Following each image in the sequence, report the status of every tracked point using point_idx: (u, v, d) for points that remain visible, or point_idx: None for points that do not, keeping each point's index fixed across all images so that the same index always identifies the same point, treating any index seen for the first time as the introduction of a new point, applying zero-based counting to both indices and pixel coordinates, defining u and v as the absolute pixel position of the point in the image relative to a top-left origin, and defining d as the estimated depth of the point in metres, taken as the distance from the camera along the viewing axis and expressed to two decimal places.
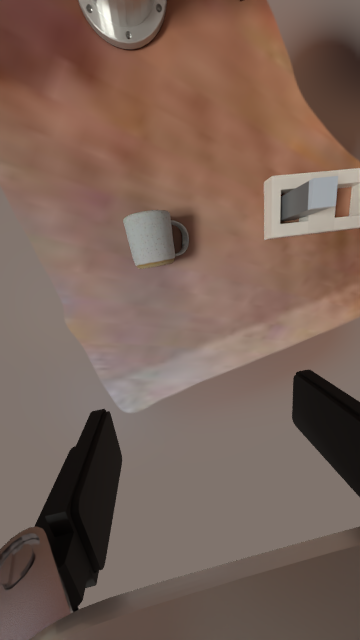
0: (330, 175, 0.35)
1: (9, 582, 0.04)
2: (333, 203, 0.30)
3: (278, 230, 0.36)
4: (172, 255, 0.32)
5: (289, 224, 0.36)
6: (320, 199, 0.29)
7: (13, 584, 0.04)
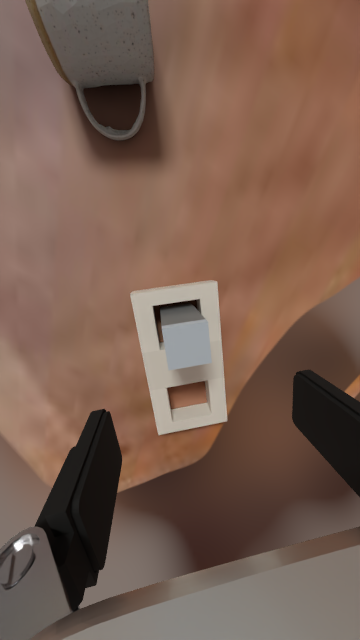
0: (218, 368, 0.25)
1: (9, 582, 0.04)
2: (172, 364, 0.17)
3: (142, 304, 0.22)
4: (56, 37, 0.14)
5: (152, 321, 0.23)
6: (176, 341, 0.17)
7: (13, 584, 0.04)
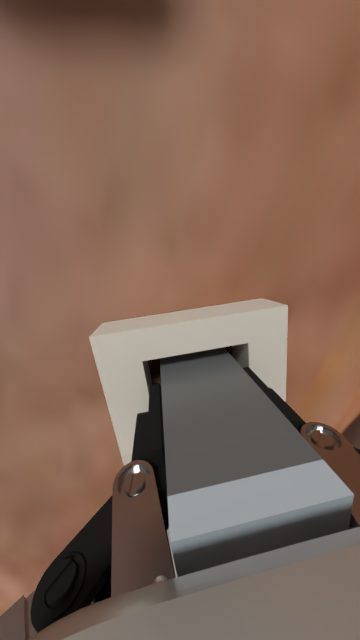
0: None
1: (129, 492, 0.05)
2: None
3: (119, 359, 0.10)
4: None
5: (144, 393, 0.10)
6: None
7: (131, 494, 0.06)
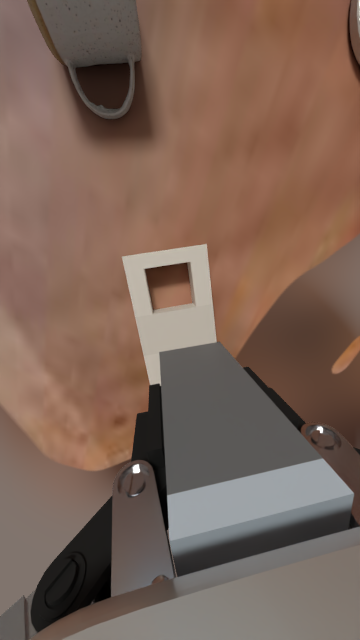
0: (210, 332, 0.26)
1: (129, 492, 0.05)
2: None
3: (134, 267, 0.23)
4: (48, 15, 0.15)
5: (145, 284, 0.23)
6: None
7: (131, 494, 0.06)
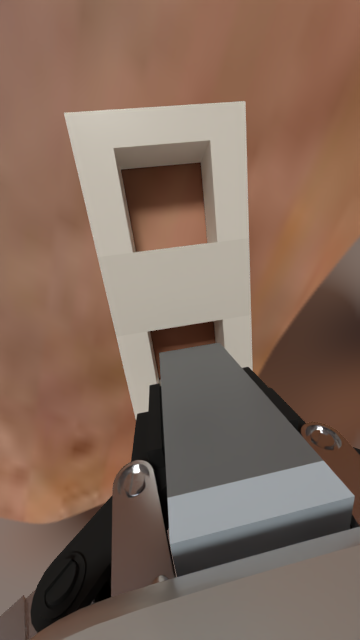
0: (240, 296, 0.14)
1: (129, 492, 0.05)
2: None
3: (92, 142, 0.11)
4: None
5: (116, 186, 0.11)
6: None
7: (131, 494, 0.06)
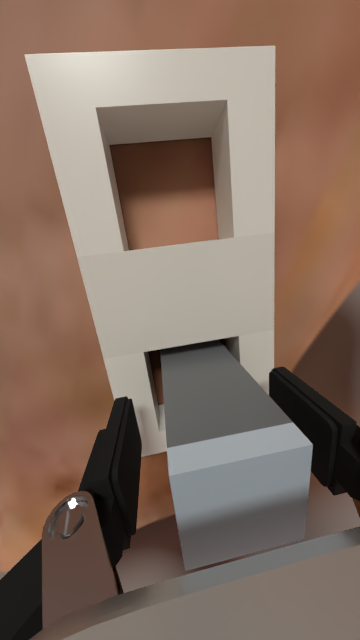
0: (262, 306, 0.11)
1: (64, 533, 0.05)
2: (196, 557, 0.06)
3: (66, 98, 0.08)
4: None
5: (100, 160, 0.08)
6: (214, 503, 0.05)
7: (67, 535, 0.05)
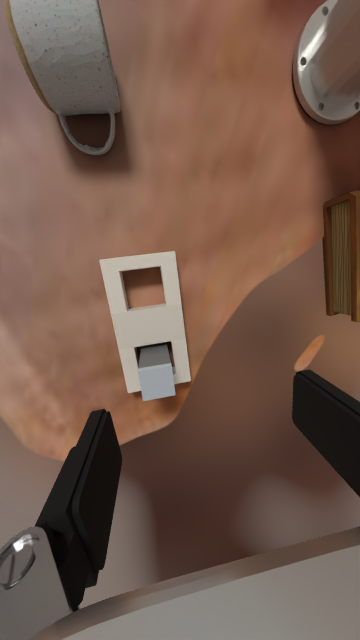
0: (179, 329, 0.29)
1: (9, 582, 0.04)
2: (145, 396, 0.24)
3: (110, 269, 0.26)
4: (42, 82, 0.18)
5: (120, 285, 0.26)
6: (149, 380, 0.23)
7: (12, 584, 0.04)
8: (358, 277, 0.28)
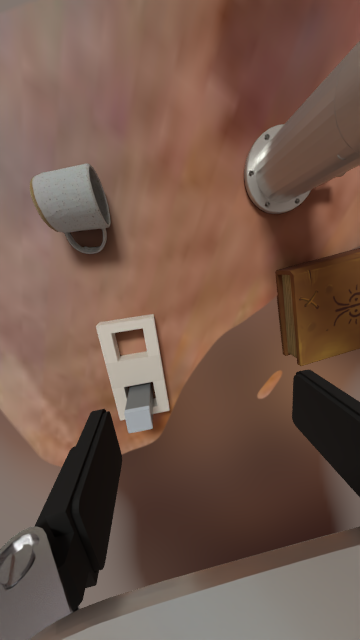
0: (159, 373, 0.37)
1: (9, 582, 0.04)
2: (130, 430, 0.32)
3: (104, 332, 0.34)
4: (54, 224, 0.26)
5: (111, 343, 0.35)
6: (132, 419, 0.32)
7: (13, 583, 0.04)
8: (299, 333, 0.36)
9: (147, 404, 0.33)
